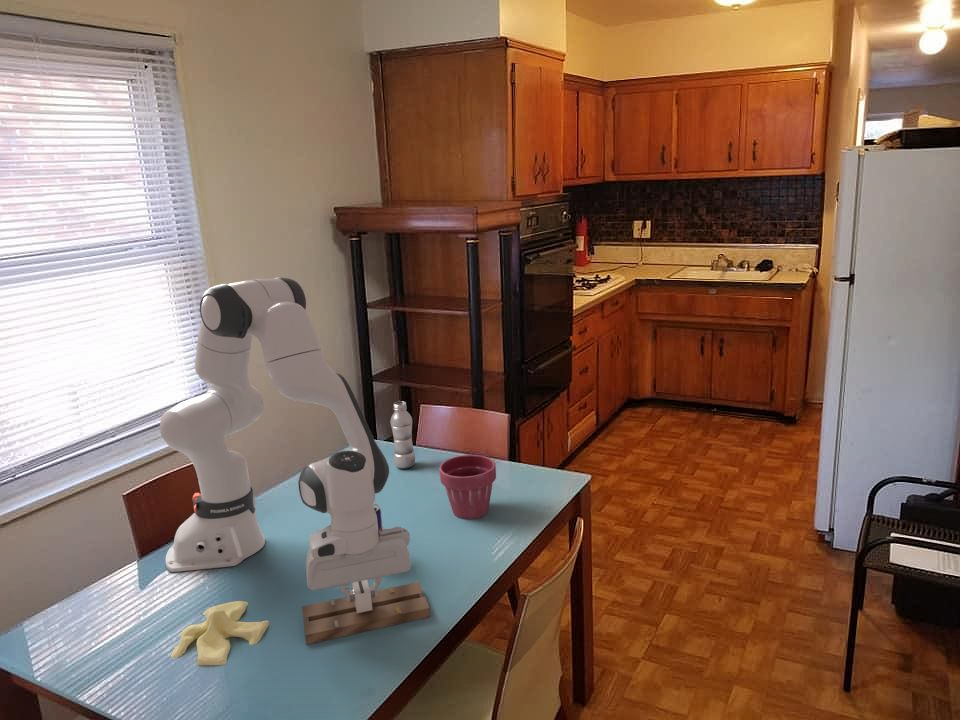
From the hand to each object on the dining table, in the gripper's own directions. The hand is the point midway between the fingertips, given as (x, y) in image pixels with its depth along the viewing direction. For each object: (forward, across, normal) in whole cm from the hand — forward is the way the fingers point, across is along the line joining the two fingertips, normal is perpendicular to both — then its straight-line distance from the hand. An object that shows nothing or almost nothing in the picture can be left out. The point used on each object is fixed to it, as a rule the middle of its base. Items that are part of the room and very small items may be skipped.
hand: (362, 598), depth 144 cm
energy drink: (+4, -5, -23) cm, 24 cm away
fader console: (+4, 0, 0) cm, 4 cm away
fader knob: (+4, 0, 0) cm, 4 cm away
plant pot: (+4, -32, -36) cm, 49 cm away
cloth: (+5, +29, -4) cm, 29 cm away
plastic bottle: (+5, -22, -72) cm, 76 cm away
